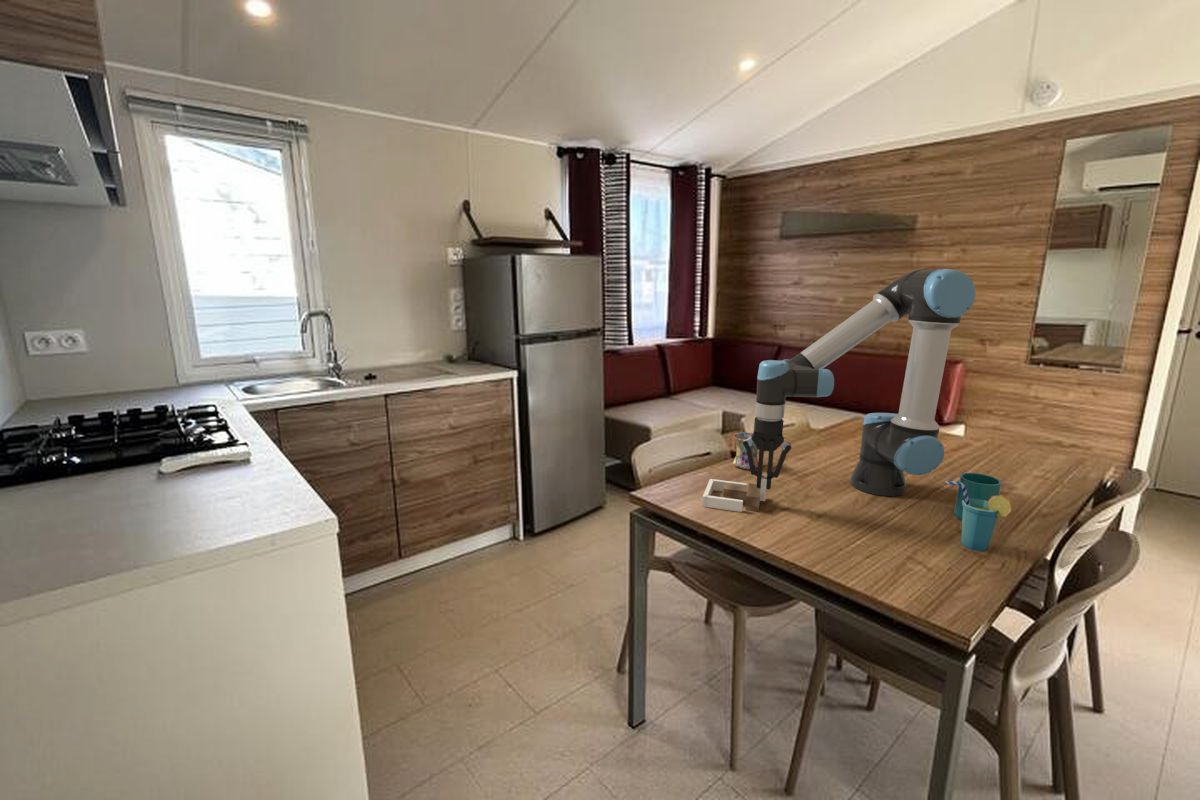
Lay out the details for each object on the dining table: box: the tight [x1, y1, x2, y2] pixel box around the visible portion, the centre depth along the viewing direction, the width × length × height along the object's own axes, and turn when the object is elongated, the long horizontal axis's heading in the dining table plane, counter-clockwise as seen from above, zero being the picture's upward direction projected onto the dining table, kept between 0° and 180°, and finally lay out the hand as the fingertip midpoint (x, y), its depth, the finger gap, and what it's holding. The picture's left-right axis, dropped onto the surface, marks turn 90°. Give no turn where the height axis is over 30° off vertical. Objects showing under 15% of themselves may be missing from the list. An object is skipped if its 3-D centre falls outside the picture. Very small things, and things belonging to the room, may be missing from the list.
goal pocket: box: [701, 478, 748, 513], centre depth 156 cm, size 11×14×3 cm
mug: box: [732, 431, 759, 470], centre depth 184 cm, size 12×9×11 cm
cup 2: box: [944, 480, 1014, 552], centre depth 129 cm, size 14×8×15 cm, turn 47°
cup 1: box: [953, 472, 1002, 520], centre depth 145 cm, size 9×12×11 cm
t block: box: [722, 482, 761, 512], centre depth 154 cm, size 10×10×4 cm
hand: (762, 499), depth 153 cm, fingers closed
